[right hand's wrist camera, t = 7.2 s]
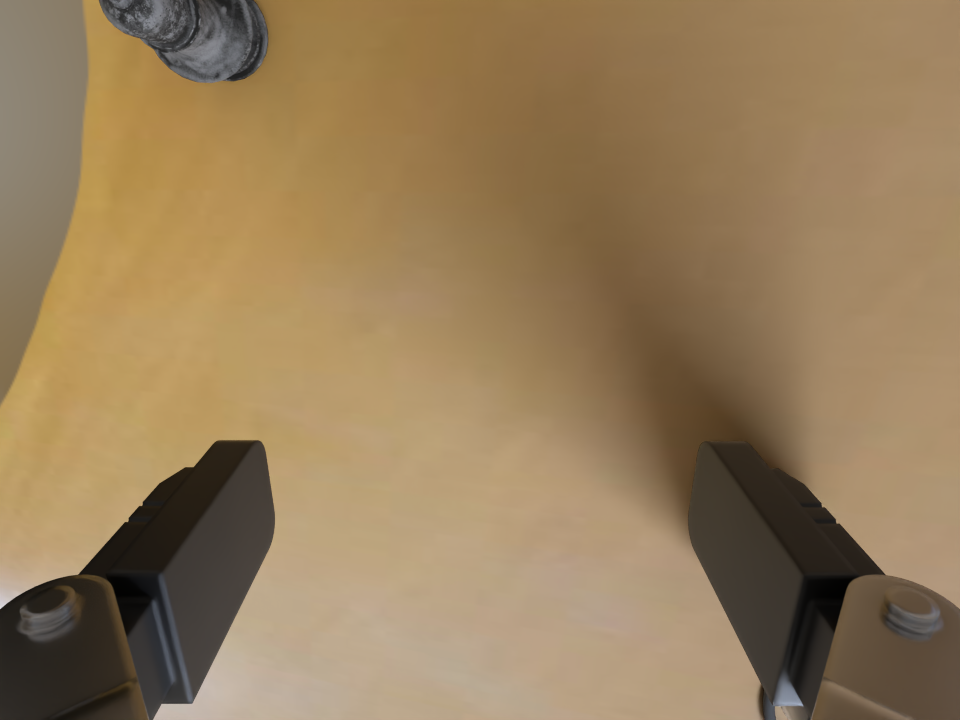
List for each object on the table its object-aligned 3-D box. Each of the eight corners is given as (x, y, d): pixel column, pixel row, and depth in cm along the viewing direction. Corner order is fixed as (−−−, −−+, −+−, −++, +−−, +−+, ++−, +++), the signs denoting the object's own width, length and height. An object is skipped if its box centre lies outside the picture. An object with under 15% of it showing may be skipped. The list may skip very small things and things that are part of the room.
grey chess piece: (173, 76, 37) (40, 54, 26) (173, -35, 35) (28, -110, 24) (270, 95, 37) (180, 83, 26) (276, -13, 35) (181, -76, 24)
